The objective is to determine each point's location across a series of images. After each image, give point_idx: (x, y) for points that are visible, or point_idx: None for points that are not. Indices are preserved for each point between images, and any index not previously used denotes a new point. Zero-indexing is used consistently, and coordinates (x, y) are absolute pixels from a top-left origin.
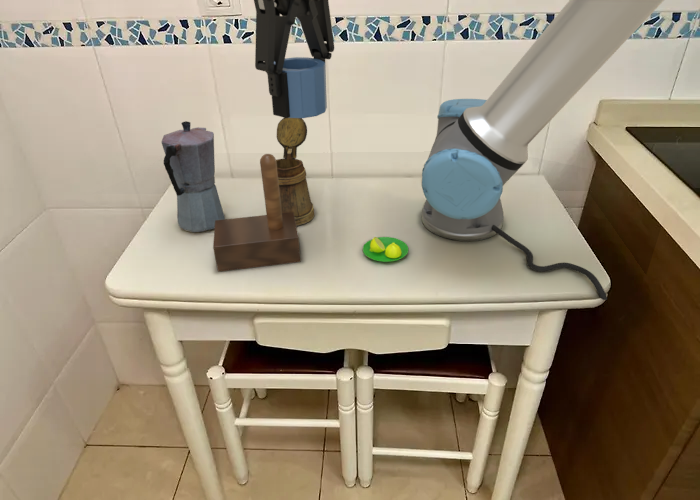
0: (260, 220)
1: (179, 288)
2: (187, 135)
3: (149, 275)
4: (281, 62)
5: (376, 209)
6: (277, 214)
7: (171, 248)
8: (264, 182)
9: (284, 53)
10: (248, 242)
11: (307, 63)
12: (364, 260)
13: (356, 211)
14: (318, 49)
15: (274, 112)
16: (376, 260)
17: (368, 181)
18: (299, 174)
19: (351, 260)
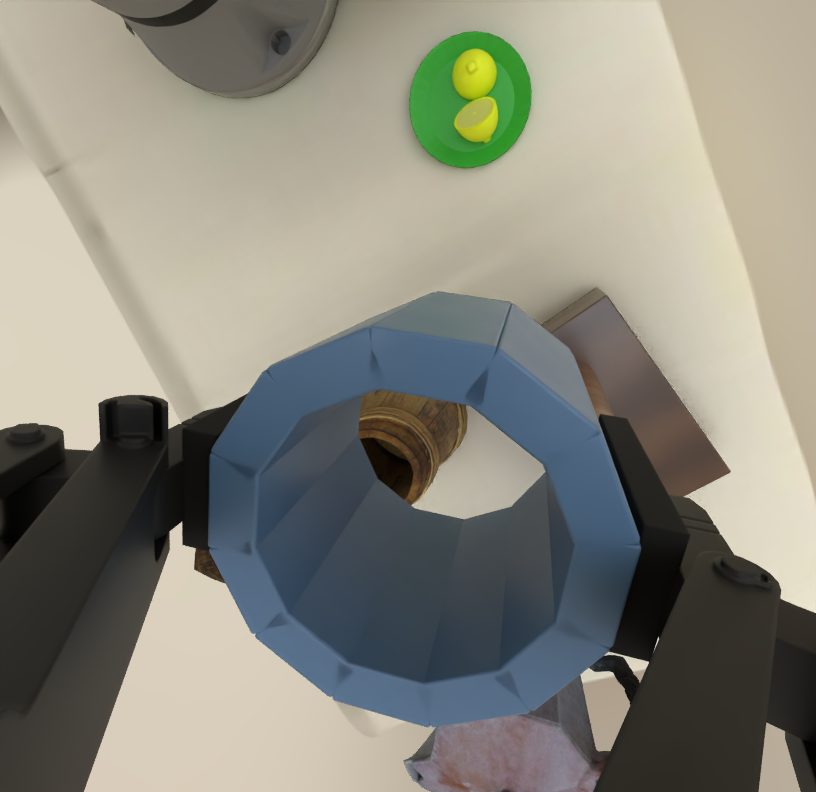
0: None
1: (797, 485)
2: (533, 781)
3: (770, 571)
4: (719, 601)
5: (290, 231)
6: (591, 375)
7: None
8: None
9: (685, 639)
10: (679, 402)
11: (270, 522)
12: (528, 137)
13: (322, 275)
14: (152, 498)
15: None
16: (530, 96)
17: (174, 320)
18: (390, 419)
19: (541, 169)
